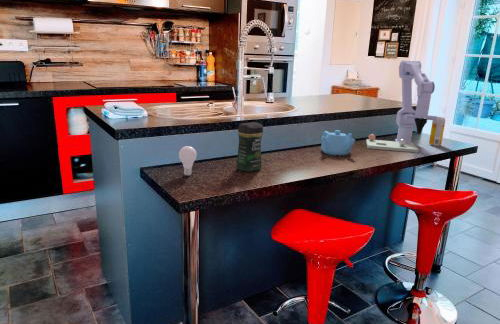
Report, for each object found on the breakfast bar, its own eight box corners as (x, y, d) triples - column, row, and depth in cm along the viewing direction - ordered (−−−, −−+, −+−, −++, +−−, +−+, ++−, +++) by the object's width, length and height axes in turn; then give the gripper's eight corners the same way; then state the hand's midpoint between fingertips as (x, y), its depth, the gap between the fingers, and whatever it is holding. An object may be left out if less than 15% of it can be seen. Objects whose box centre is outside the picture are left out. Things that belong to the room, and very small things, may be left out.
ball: (368, 139, 209) (368, 133, 208) (374, 140, 208) (375, 133, 207) (368, 140, 206) (369, 134, 205) (375, 141, 205) (375, 134, 204)
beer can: (438, 144, 211) (443, 116, 207) (442, 146, 205) (447, 118, 201) (427, 143, 212) (431, 116, 208) (431, 146, 206) (435, 118, 202)
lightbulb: (179, 172, 144) (179, 144, 141) (197, 173, 144) (197, 144, 141) (178, 178, 138) (177, 148, 135) (196, 178, 138) (196, 148, 135)
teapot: (351, 150, 190) (354, 128, 187) (353, 157, 175) (356, 134, 173) (320, 148, 192) (322, 126, 190) (319, 155, 178) (321, 132, 175)
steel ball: (397, 144, 199) (398, 138, 198) (405, 145, 198) (406, 138, 197) (398, 146, 195) (399, 139, 194) (406, 146, 194) (407, 140, 194)
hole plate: (366, 141, 210) (366, 139, 210) (413, 145, 205) (413, 143, 204) (367, 148, 195) (367, 145, 195) (418, 152, 190) (418, 149, 189)
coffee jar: (246, 173, 146) (248, 125, 141) (233, 169, 151) (234, 122, 146) (264, 169, 152) (267, 122, 147) (251, 165, 158) (252, 119, 153)
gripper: (408, 106, 187) (404, 133, 191) (440, 108, 184) (435, 136, 188) (406, 104, 194) (402, 131, 198) (437, 106, 191) (433, 133, 194)
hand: (418, 133), depth 193 cm, fingers closed
